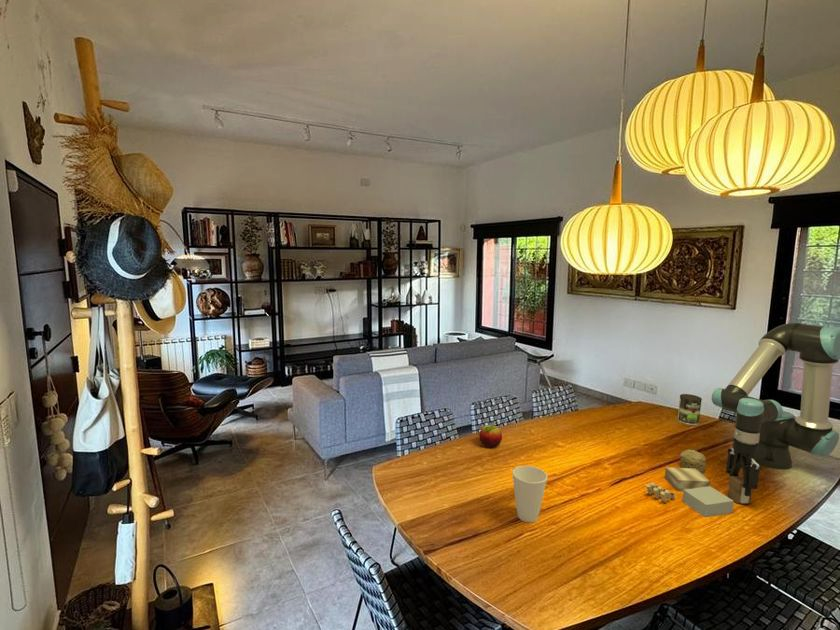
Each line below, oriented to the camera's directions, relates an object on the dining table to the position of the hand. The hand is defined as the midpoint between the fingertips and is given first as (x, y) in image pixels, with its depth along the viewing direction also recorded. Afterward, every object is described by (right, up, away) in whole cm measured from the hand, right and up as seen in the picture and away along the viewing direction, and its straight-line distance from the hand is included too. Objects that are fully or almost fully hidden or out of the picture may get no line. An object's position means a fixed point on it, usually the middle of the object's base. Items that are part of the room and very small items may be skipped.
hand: (738, 498), depth 167 cm
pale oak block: (-14, +1, +10) cm, 17 cm away
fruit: (-87, +7, +44) cm, 98 cm away
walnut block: (0, 0, 0) cm, 0 cm away
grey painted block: (-15, -2, -5) cm, 16 cm away
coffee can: (+27, +11, +75) cm, 81 cm away
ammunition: (-29, -1, +1) cm, 29 cm away
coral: (-3, +3, +24) cm, 24 cm away
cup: (-83, -2, -11) cm, 84 cm away
